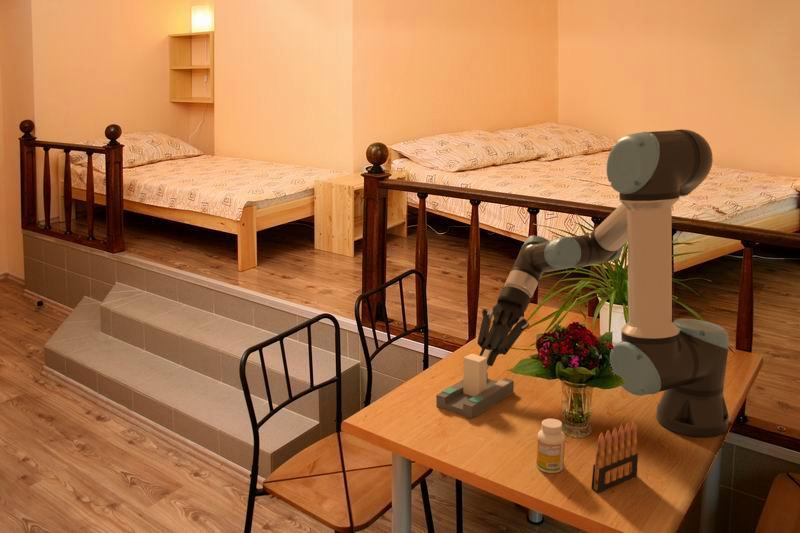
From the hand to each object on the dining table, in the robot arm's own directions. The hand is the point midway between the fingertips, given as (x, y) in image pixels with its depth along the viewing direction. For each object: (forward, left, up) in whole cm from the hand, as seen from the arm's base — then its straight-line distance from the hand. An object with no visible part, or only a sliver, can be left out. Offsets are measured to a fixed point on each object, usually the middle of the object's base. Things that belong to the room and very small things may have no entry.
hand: (478, 375), depth 185 cm
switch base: (-2, +1, -5) cm, 6 cm away
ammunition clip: (-43, -15, -5) cm, 46 cm away
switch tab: (-2, +2, -3) cm, 5 cm away
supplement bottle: (-35, -5, -5) cm, 36 cm away
